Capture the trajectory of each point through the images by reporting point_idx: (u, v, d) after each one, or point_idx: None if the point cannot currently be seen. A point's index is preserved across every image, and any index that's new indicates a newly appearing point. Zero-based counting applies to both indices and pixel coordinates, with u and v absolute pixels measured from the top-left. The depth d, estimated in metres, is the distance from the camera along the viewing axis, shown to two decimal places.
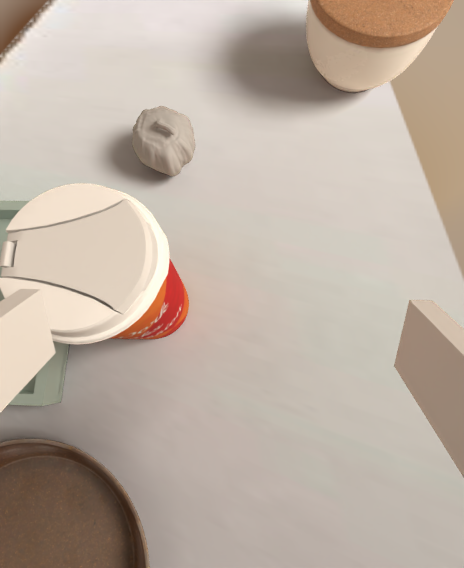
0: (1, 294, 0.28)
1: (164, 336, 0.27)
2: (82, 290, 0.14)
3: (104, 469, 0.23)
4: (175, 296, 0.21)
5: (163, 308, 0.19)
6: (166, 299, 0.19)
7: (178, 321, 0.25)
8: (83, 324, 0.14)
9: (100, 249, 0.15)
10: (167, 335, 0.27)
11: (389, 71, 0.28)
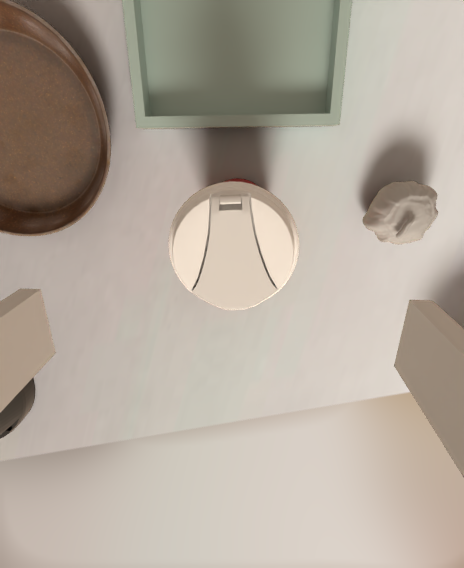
0: (241, 39, 0.26)
1: None
2: (203, 267, 0.19)
3: (98, 193, 0.29)
4: None
5: None
6: None
7: None
8: (179, 272, 0.19)
9: (236, 276, 0.19)
10: None
11: None
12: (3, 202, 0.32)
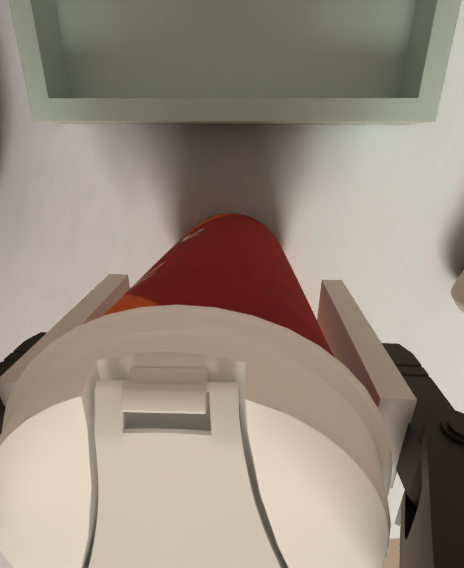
0: None
1: None
2: (93, 562, 0.06)
3: None
4: None
5: None
6: None
7: None
8: (18, 566, 0.06)
9: None
10: None
11: None
12: None
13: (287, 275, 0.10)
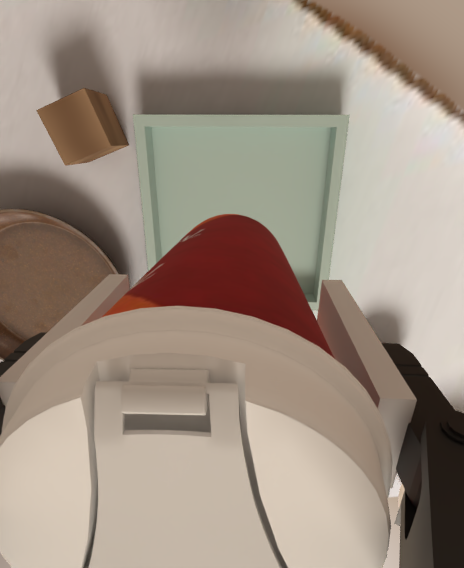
0: None
1: None
2: (93, 563, 0.06)
3: None
4: None
5: None
6: None
7: None
8: None
9: None
10: None
11: None
12: None
13: (287, 276, 0.10)
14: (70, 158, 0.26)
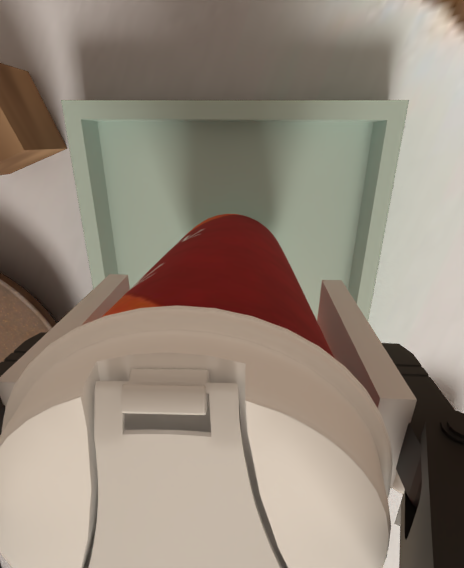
0: None
1: None
2: (93, 563, 0.06)
3: None
4: None
5: None
6: None
7: None
8: None
9: None
10: None
11: None
12: None
13: (287, 275, 0.10)
14: None
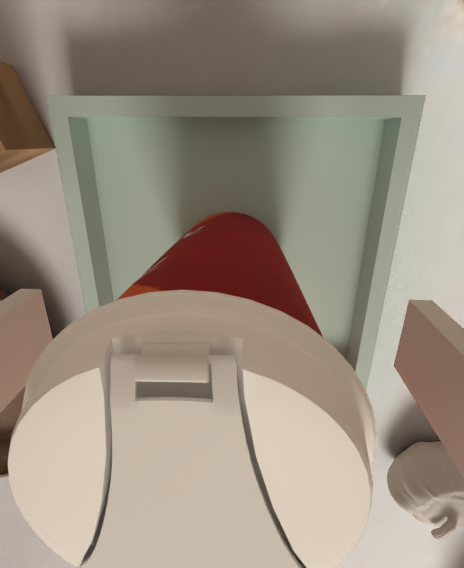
0: None
1: None
2: (106, 524, 0.07)
3: None
4: None
5: None
6: None
7: None
8: (37, 529, 0.07)
9: (199, 548, 0.07)
10: None
11: None
12: None
13: (283, 269, 0.11)
14: None
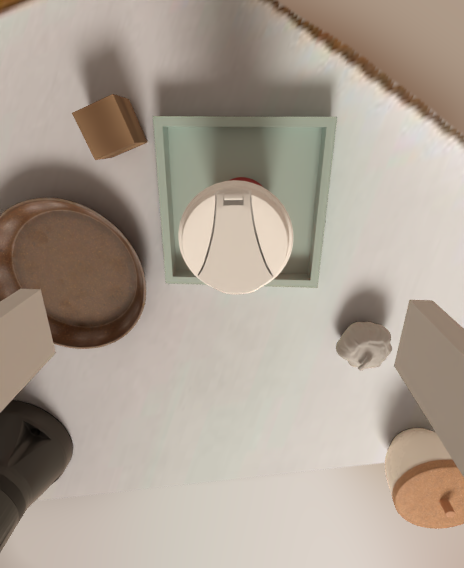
0: None
1: None
2: (208, 255, 0.22)
3: (134, 324, 0.38)
4: None
5: None
6: None
7: None
8: (187, 258, 0.22)
9: (237, 264, 0.22)
10: None
11: None
12: (59, 318, 0.41)
13: None
14: (100, 154, 0.30)
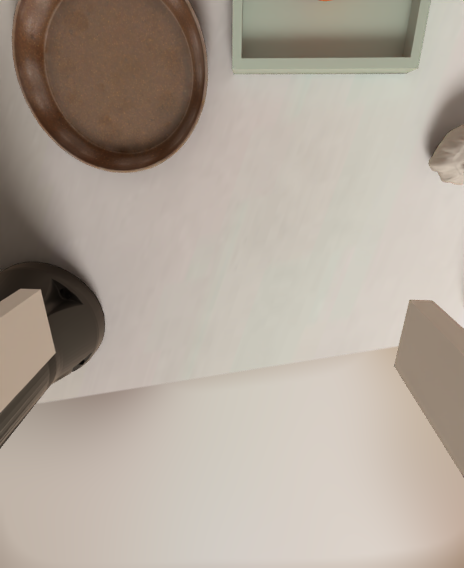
0: None
1: None
2: None
3: (190, 132, 0.32)
4: None
5: None
6: None
7: None
8: None
9: None
10: None
11: None
12: (97, 142, 0.35)
13: None
14: None
